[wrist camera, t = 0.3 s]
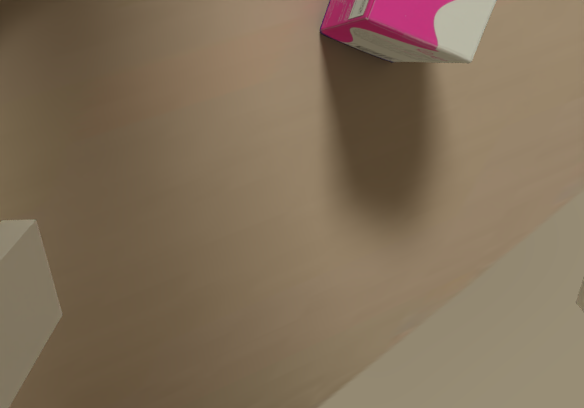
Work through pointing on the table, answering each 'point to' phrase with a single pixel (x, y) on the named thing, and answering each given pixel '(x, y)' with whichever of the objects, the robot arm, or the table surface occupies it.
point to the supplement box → (410, 28)
